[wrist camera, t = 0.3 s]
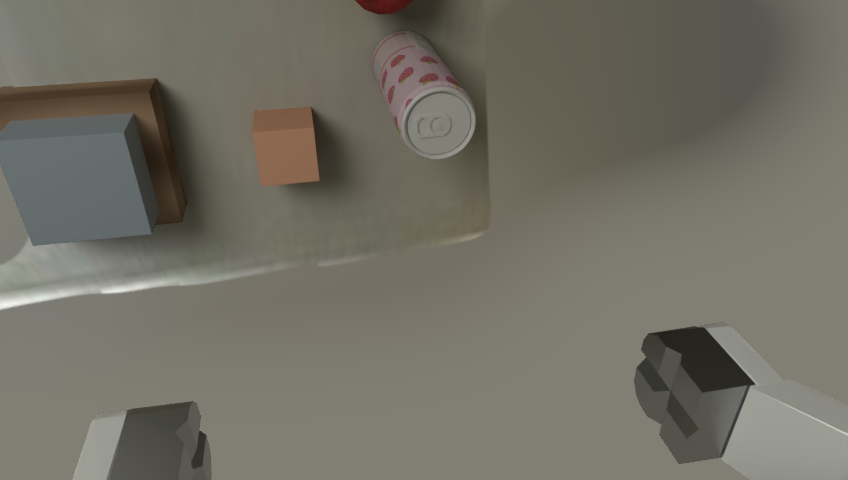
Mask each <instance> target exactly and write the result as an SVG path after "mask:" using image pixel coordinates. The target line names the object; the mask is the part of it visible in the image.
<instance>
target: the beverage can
mask: <svg viewBox="0 0 848 480" xmlns="http://www.w3.org/2000/svg"><path fill="white" fill-rule="evenodd" d="M372 70H373V74H374V77H375V79H376V81H377V83H378V86H379V88H380V90H381V93H382V95H383V97H384V99H385V102H386V104H387V106H388V109H389V111H390V113H391V116H392V118H393V120H394V122H395V125H396V127H397V129H398V132H399V134H400V136H401V138H402V140H403V142H404V143H405V144H406V146H407V147H408V148H410V150H412V151H413V152H414V153H415V154H417V155H419V156H421V157H423V158H427V159H434V160H438V159H445V158H448V157H451V156H453V155H455V154H456V153H458V152H459V151H461V150H462V149H463V148H464V147H465V146H466V145H467V144H468V143H469V141H470V140H471V138H472V136H473V134H474V131H475V128H476V112H475V108H474V105H473V102H472V100H471V99H470V97H469V95H468V94H467V93H466V91H465V90H464V89H463V87H462V86H461V85H460V83H459V82H458V81H457V79H456V78H455V77H454V75H453V74H452V73H451V71H450V70H449V69H448V67H447V66H446V65H445V63H444V62H443V61H442V59H441V58H440V57H439V55H438V54H437V53H436V51H435V50H434V49H433V47H432V46H431V45H430V43H429V42H428V41H427V40H426V39H425V38H424V37H422V36H421V35H419V34H417V33H414V32H411V31H398V32H395V33H392V34H390V35H388V36H387V37H385V38H384V39H383V40H382V41H381V42H380V43H379V44H378V46H377V47H376V49H375V51H374V54H373V58H372Z"/></svg>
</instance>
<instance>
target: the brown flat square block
mask: <svg viewBox="0 0 848 480" xmlns="http://www.w3.org/2000/svg"><path fill="white" fill-rule="evenodd" d="M127 113H134V117H135V120H136V124H137V128H138V132H139V136H140V139H141V143H142V147H143V151H144V155H145V159H146V162H147V166H148V170H149V174H150V178H151V181H152V185H153V189H154V193H155V197H156V201H157V204H158V208H159V212H158V216H157V219H156V222H155V225H158V224H168V223H178V222H182V221H183V217H184V213H185V208H186V204H187V202H186V198H185V194H184V190H183V186H182V182H181V178H180V174H179V170H178V166H177V162H176V158H175V153H174V149H173V145H172V141H171V137H170V133H169V129H168V125H167V121H166V117H165V113H164V109H163V105H162V101H161V97H160V93H159V89H158V85H157V80H156V78H153V79H138V80H122V81H107V82H92V83H77V84H62V85H46V86H31V87H16V88H13V86H5V87H1V88H0V132H1V130H2V129H3V128H4V127H5V126H6V125H7V124H8V123H9V122H10V121H19V120H34V119H50V118H65V117H81V116H96V115H112V114H127Z"/></svg>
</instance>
